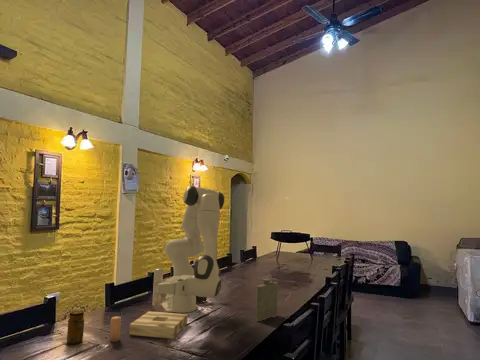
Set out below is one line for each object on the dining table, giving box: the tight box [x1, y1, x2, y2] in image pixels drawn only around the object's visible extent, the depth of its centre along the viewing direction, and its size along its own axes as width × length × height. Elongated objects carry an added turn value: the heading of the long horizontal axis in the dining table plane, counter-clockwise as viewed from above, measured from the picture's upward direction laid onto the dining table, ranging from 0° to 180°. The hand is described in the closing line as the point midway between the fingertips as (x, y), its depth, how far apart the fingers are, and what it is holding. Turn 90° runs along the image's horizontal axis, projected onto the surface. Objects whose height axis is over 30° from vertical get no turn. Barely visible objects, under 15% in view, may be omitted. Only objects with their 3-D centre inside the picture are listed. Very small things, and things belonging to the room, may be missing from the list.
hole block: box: [129, 310, 189, 339], centre depth 164 cm, size 20×20×4 cm
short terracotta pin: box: [109, 316, 122, 343], centre depth 149 cm, size 4×4×9 cm
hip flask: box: [255, 278, 279, 321], centre depth 185 cm, size 16×4×20 cm, turn 138°
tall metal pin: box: [152, 268, 164, 307], centre depth 162 cm, size 4×4×16 cm
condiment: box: [61, 310, 89, 348], centre depth 145 cm, size 7×8×12 cm
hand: (156, 282), depth 162 cm, fingers closed on tall metal pin, 4 cm apart
